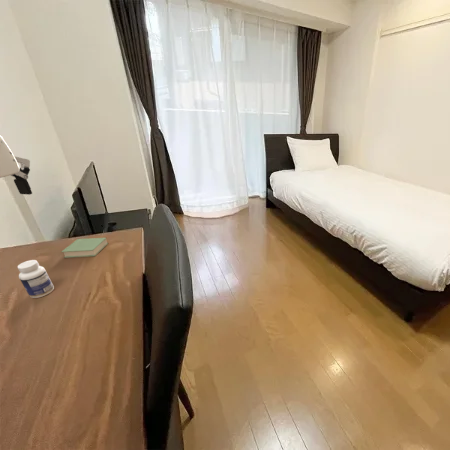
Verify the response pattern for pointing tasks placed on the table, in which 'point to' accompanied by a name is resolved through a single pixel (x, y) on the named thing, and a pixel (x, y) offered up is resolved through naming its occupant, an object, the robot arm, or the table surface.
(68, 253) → the book
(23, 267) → the pill bottle
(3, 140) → the robot arm
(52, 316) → the table surface
